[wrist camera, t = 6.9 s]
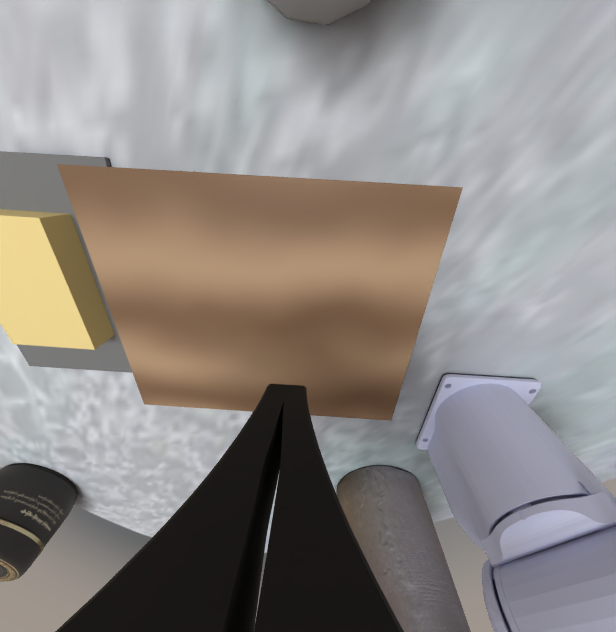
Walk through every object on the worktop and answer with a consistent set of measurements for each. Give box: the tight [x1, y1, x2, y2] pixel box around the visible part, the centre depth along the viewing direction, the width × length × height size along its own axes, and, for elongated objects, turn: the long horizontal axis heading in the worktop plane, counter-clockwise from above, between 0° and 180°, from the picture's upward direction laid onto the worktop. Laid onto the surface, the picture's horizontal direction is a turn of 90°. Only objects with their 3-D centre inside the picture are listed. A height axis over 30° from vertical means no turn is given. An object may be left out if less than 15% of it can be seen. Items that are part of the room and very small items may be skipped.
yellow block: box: [0, 209, 115, 350], centre depth 17 cm, size 9×6×2 cm, turn 176°
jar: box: [0, 464, 77, 581], centre depth 28 cm, size 10×10×8 cm
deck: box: [57, 164, 462, 420], centre depth 16 cm, size 15×18×4 cm
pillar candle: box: [337, 465, 471, 632], centre depth 23 cm, size 10×10×15 cm
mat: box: [0, 152, 132, 372], centre depth 18 cm, size 16×12×1 cm
